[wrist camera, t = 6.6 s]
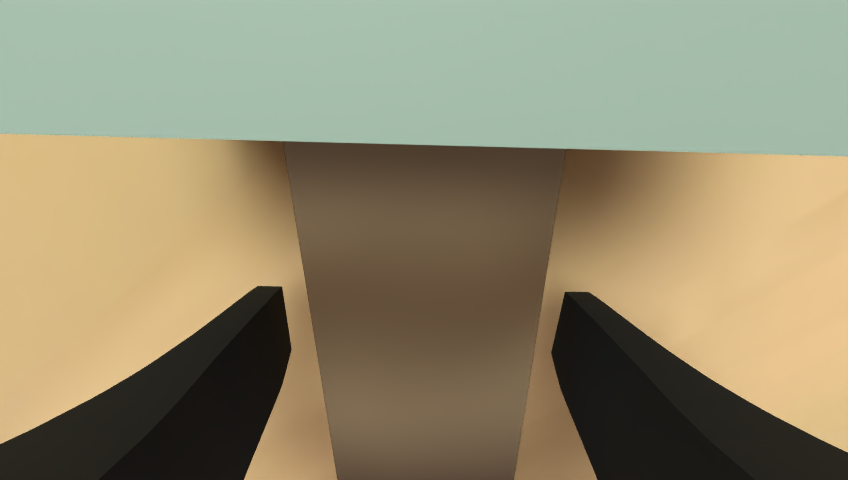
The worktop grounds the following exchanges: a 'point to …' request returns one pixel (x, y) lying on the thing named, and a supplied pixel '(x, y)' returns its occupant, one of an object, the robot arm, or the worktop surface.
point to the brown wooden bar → (424, 299)
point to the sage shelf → (435, 72)
